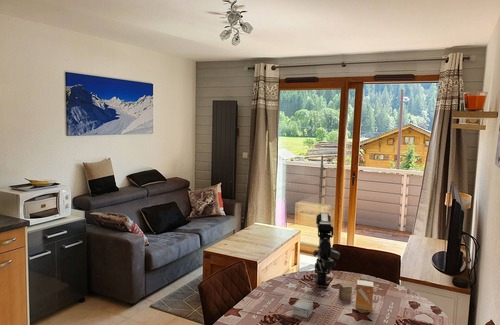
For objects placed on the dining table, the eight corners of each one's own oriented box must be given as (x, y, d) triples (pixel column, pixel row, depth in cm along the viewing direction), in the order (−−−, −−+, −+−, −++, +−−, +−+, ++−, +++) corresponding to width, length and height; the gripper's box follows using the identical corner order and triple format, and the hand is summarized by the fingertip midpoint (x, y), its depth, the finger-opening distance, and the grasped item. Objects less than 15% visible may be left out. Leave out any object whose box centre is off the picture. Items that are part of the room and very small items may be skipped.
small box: (355, 308, 198) (356, 284, 196) (356, 303, 204) (357, 279, 202) (372, 311, 195) (373, 286, 194) (372, 305, 201) (373, 281, 200)
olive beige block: (338, 295, 212) (339, 283, 211) (347, 295, 213) (348, 282, 212) (342, 299, 207) (343, 287, 207) (351, 299, 208) (352, 286, 207)
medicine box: (298, 307, 198) (292, 314, 190) (298, 298, 198) (292, 305, 190) (313, 310, 194) (307, 318, 187) (313, 302, 194) (307, 309, 186)
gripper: (345, 250, 202) (344, 279, 204) (332, 239, 221) (330, 266, 222) (325, 251, 200) (324, 280, 202) (313, 240, 219) (312, 267, 220)
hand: (323, 273), depth 212 cm, fingers closed
